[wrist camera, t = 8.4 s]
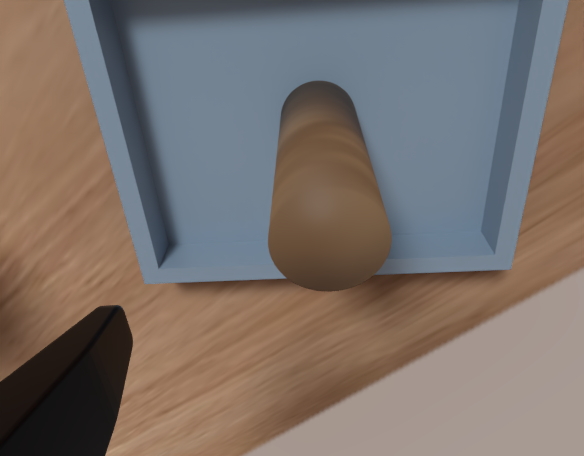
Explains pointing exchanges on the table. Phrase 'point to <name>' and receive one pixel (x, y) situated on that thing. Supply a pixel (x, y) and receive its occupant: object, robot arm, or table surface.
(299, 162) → the walnut dowel
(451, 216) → the slate tray
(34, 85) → the table surface
